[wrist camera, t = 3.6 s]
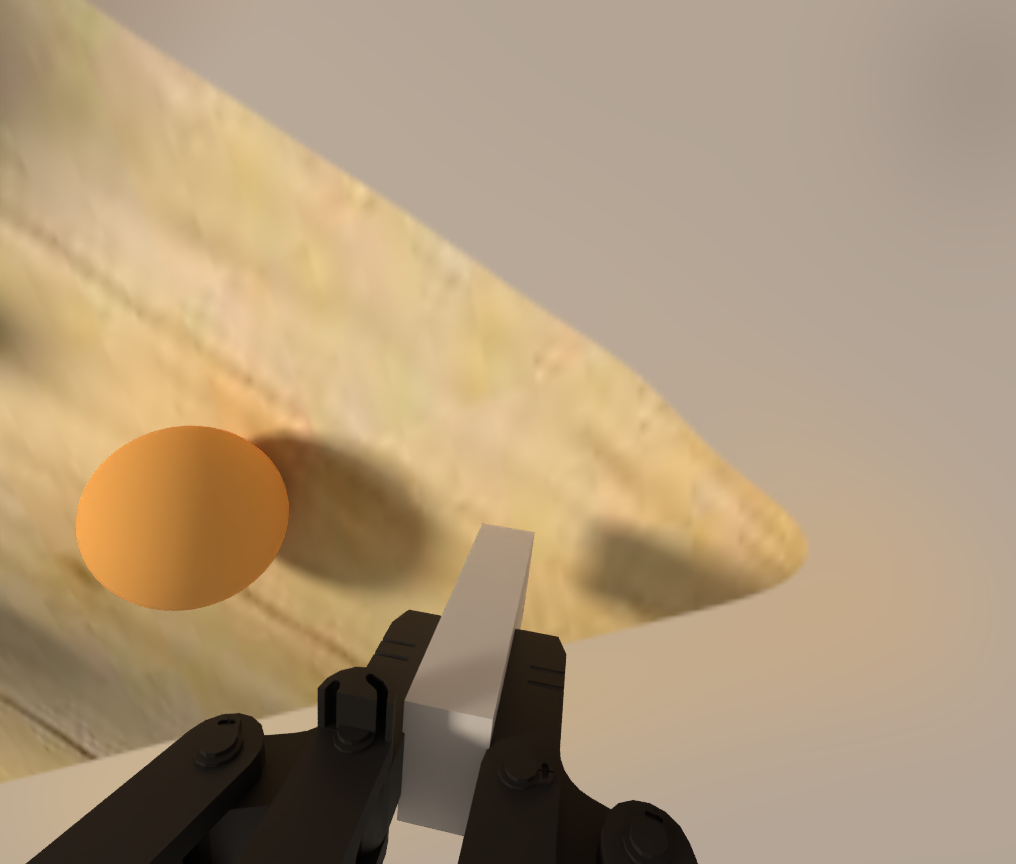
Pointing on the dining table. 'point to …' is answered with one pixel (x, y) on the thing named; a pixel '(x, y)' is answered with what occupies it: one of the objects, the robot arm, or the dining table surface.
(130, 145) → the dining table surface
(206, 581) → the ball
